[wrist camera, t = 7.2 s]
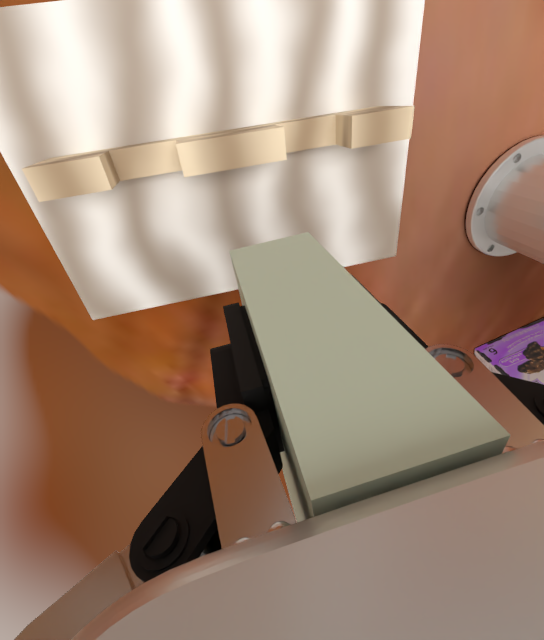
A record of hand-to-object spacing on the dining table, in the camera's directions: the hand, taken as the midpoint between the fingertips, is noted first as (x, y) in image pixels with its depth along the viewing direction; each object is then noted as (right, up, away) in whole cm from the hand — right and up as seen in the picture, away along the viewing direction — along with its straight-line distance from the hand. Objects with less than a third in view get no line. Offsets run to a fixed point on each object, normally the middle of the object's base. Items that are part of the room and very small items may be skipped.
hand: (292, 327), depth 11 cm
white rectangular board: (-4, +13, +17) cm, 22 cm away
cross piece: (0, -3, +5) cm, 6 cm away
